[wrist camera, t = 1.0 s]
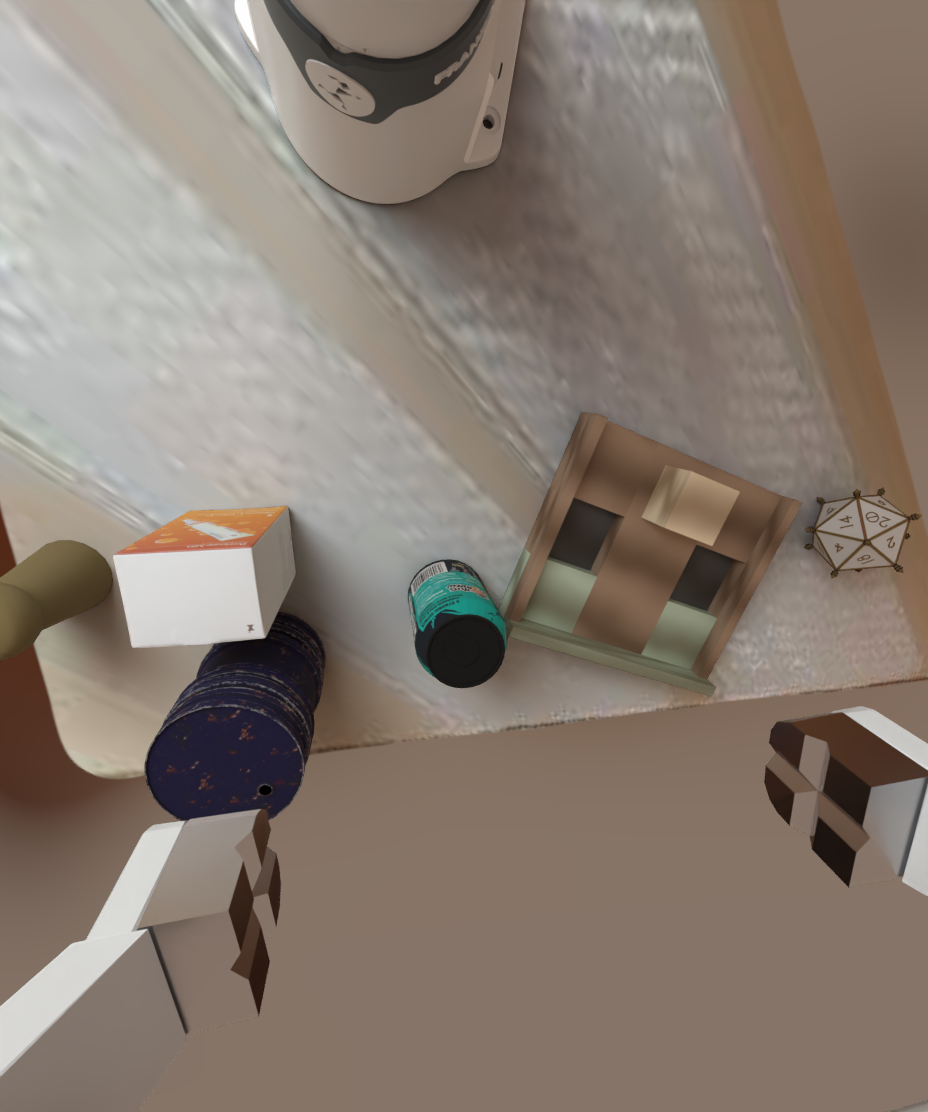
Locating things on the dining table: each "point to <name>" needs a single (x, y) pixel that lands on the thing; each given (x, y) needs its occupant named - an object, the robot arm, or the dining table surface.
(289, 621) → the storage jar
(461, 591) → the beverage can
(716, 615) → the box
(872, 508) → the game die
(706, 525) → the beech block
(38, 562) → the olive rounded lobed piece
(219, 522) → the small box
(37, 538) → the dining table surface
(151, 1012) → the robot arm
